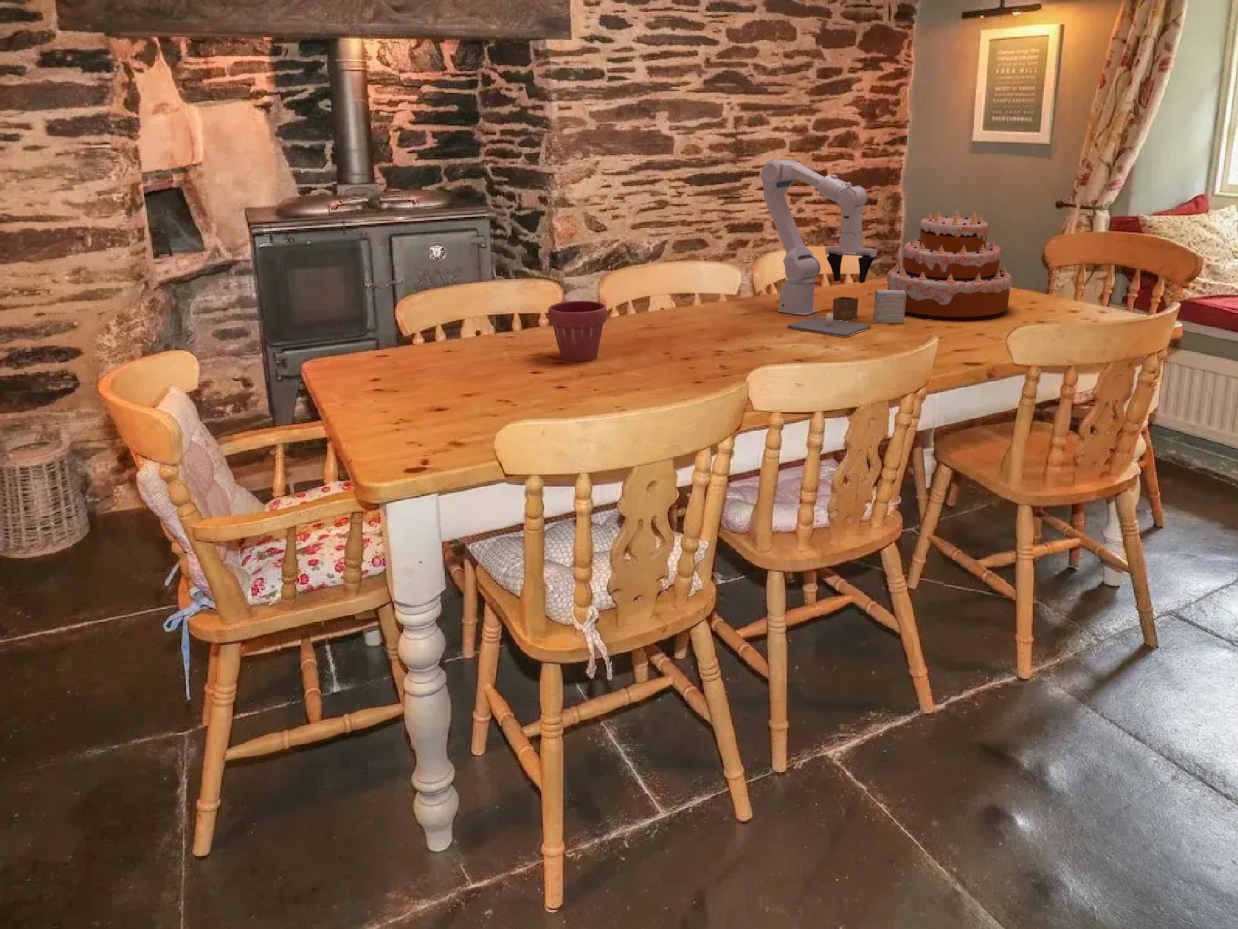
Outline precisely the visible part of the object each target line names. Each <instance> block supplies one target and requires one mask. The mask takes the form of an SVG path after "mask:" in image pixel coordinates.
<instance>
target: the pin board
mask: <svg viewBox="0 0 1238 929" xmlns="http://www.w3.org/2000/svg"><path fill="white" fill-rule="evenodd" d="M825 315H826V317H820V316H811V317H808V318H805V319H803V320H800V321H795V322H794V323H790V324H786V325H787V326H786V329H788V330H789V329H790V330H795V331H801V332H807V331H810V332H809V333H813V332H817V333H816V334H819V333H823V334H822V335H825V334H830V335H829V336H832V335H837V336H836V337H838V336H844V337H846V336H849V335H851V334H853V333H856V332H858V331H862V330H865V329H868V328H870V327H871V328H872V325H871V324H867V323H859V322H858V323H857V322H853V321H850V322H846V321H839V320H833V312H828V313H826V314H825ZM871 328H870V329H871ZM868 330H869V329H868ZM865 331H866V330H865ZM862 332H863V331H862ZM844 337H843V338H844ZM849 337H850V336H849ZM846 338H847V337H846Z"/></svg>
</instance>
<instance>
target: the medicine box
mask: <svg viewBox="0 0 1238 929" xmlns="http://www.w3.org/2000/svg"><path fill="white" fill-rule="evenodd" d="M874 293H875V294H874V304H873V305H874V307H873V308H874V309H873V322H874V321H875V322H876V323H875V322H874V323H875V324H879V323H878V322H883V323H882V324H904V323H905V316H904V314H905V303H906V293H905V291H904V290H887V289H876V290H875V291H874Z"/></svg>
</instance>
